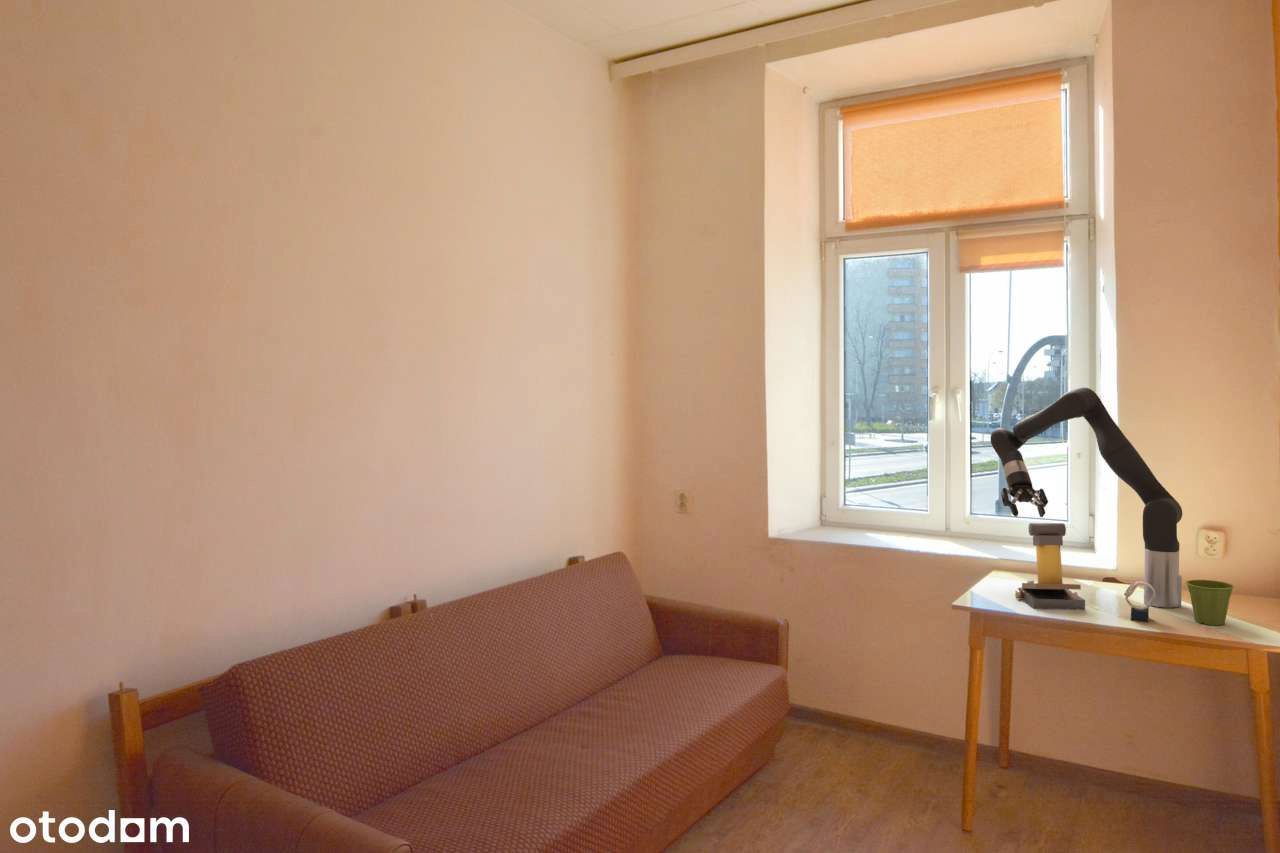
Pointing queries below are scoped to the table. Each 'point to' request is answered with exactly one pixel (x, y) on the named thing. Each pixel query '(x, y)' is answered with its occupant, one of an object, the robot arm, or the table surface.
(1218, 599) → the plant pot
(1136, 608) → the watch
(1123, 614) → the table surface
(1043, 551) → the wooden pedestal stand
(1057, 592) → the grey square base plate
